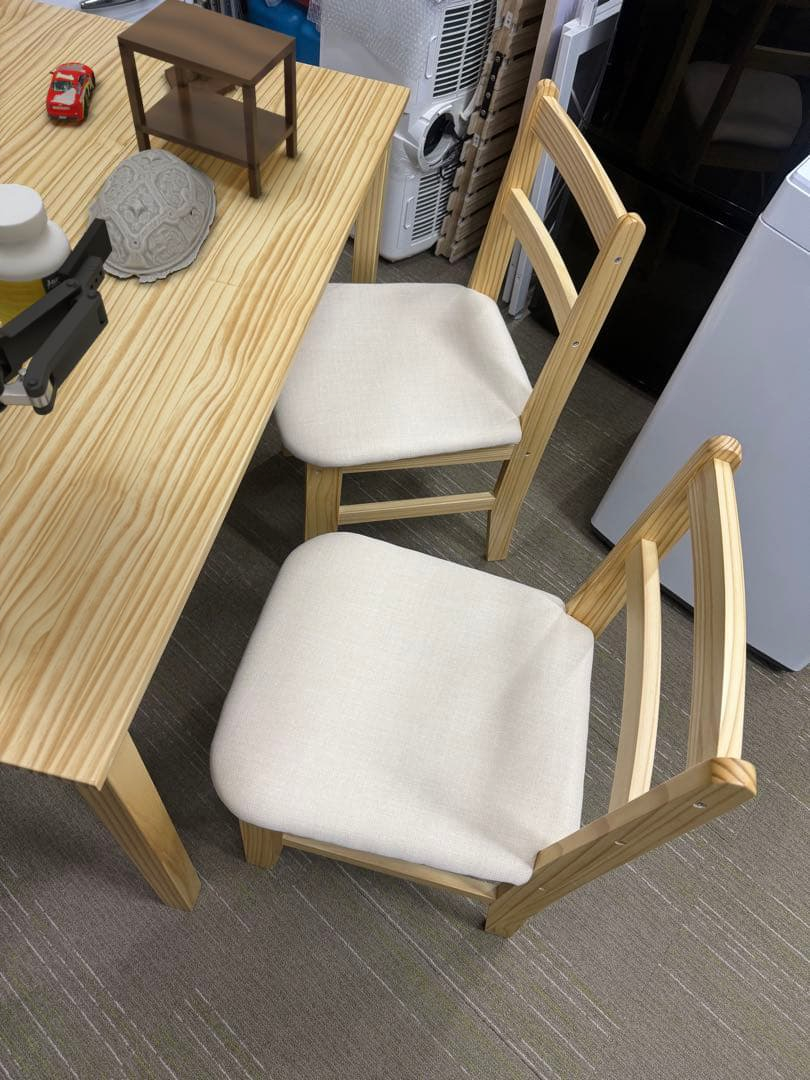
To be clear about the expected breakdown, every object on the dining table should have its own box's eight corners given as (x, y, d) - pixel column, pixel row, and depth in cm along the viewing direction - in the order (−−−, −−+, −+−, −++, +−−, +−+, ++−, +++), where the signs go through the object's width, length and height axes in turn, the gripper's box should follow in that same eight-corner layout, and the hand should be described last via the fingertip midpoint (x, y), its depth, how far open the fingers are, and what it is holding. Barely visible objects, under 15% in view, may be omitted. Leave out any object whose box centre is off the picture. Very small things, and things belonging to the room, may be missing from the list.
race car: (62, 75, 116) (54, 46, 112) (99, 78, 116) (93, 50, 113) (43, 125, 108) (35, 96, 105) (84, 128, 109) (77, 99, 106)
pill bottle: (56, 375, 60) (7, 247, 50) (-9, 341, 61) (-70, 210, 51) (113, 326, 63) (77, 198, 53) (50, 295, 64) (3, 164, 55)
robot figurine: (154, 92, 116) (139, 2, 105) (171, 60, 121) (159, -28, 111) (228, 104, 116) (220, 16, 106) (242, 73, 121) (236, -15, 111)
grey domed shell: (227, 163, 107) (217, 116, 101) (196, 292, 95) (182, 247, 89) (116, 160, 107) (99, 113, 101) (71, 289, 95) (49, 244, 89)
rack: (257, 199, 105) (250, 80, 92) (140, 158, 107) (116, 35, 94) (297, 154, 111) (295, 37, 98) (185, 116, 113) (169, -4, 100)
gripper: (-227, 455, 50) (-45, 239, 63) (63, 521, 50) (188, 290, 62) (-304, 373, 44) (-84, 150, 56) (27, 448, 44) (174, 207, 56)
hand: (58, 224), depth 59 cm, fingers closed on pill bottle, 6 cm apart
